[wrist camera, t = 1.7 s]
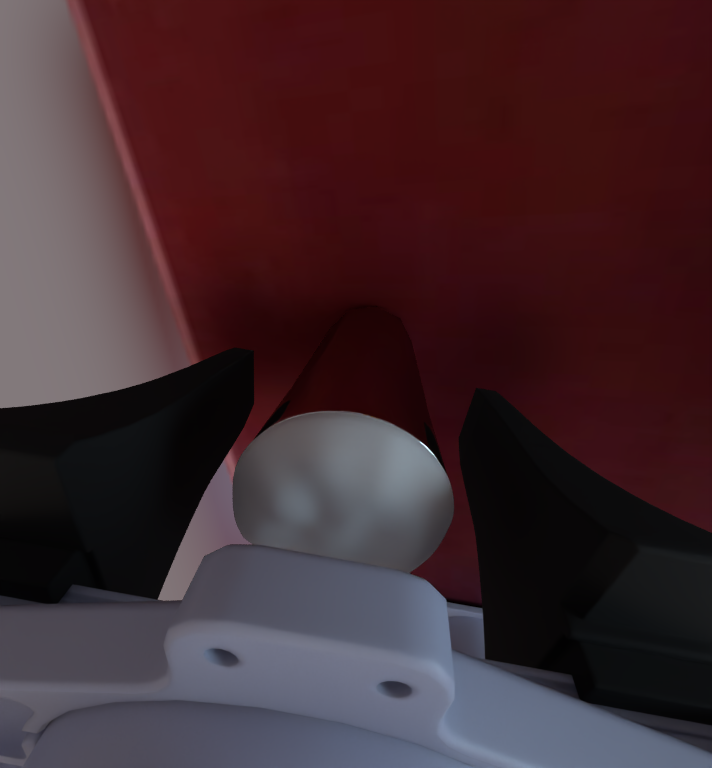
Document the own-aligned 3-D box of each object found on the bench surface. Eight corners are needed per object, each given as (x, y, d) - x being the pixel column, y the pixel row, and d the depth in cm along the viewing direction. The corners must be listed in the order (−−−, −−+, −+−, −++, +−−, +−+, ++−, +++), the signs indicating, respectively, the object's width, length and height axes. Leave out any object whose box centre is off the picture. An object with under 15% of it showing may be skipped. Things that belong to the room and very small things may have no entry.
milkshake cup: (305, 400, 16) (201, 663, 8) (316, 277, 14) (173, 475, 5) (410, 418, 16) (419, 703, 8) (441, 298, 14) (510, 536, 5)
